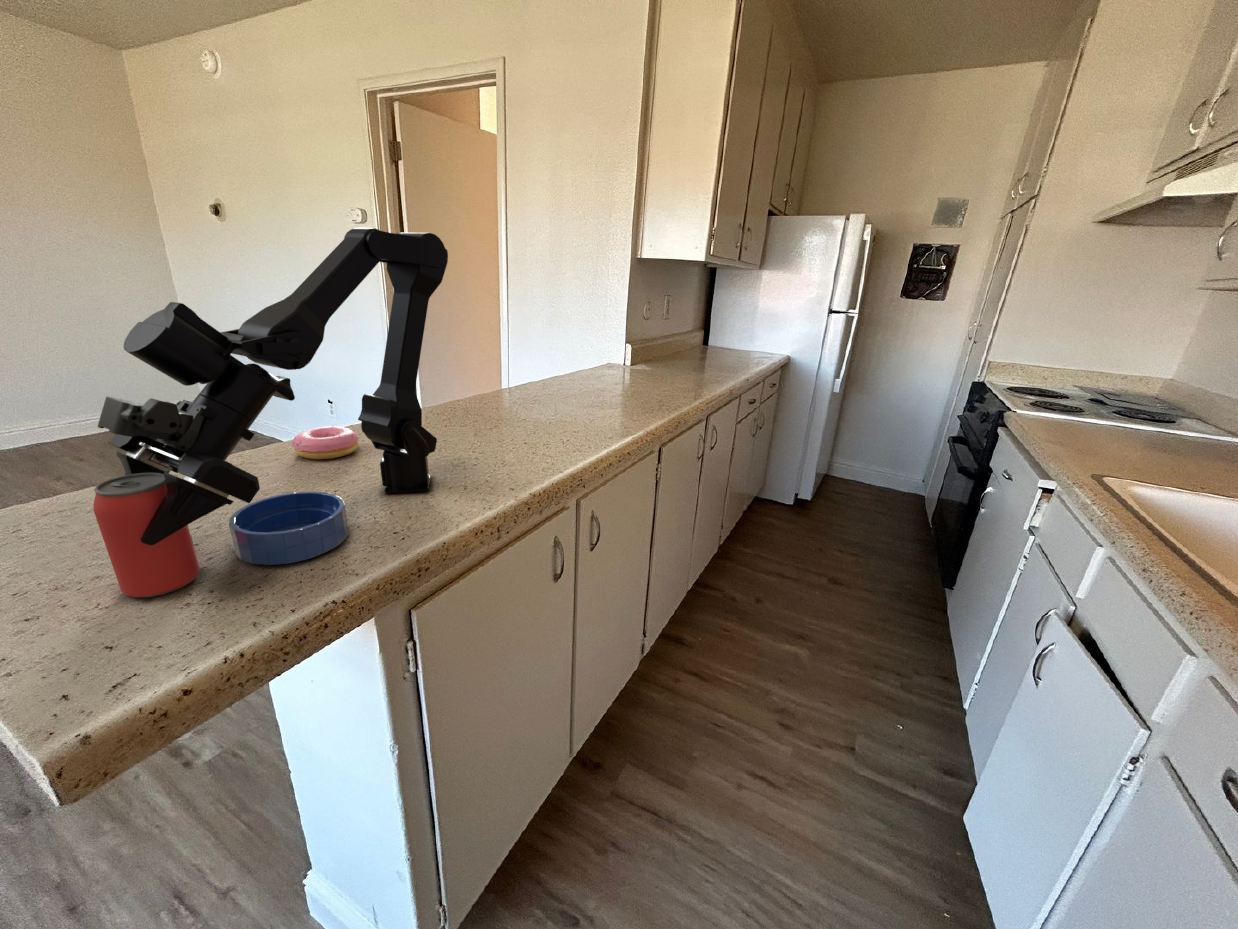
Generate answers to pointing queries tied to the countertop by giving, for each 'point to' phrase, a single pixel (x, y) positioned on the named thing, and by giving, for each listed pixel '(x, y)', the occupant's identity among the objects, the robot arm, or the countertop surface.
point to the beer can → (122, 525)
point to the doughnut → (325, 442)
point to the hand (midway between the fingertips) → (129, 534)
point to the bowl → (289, 527)
